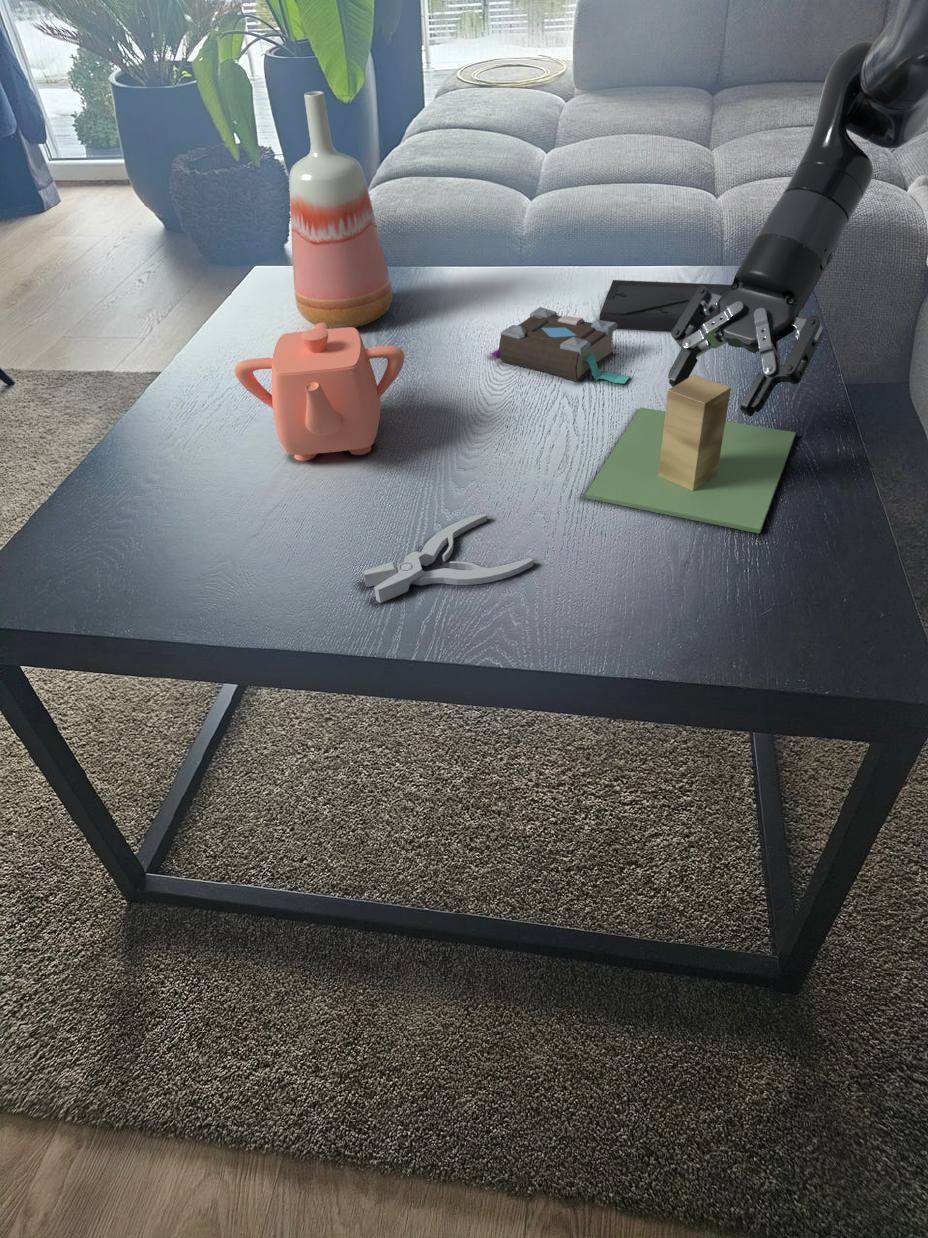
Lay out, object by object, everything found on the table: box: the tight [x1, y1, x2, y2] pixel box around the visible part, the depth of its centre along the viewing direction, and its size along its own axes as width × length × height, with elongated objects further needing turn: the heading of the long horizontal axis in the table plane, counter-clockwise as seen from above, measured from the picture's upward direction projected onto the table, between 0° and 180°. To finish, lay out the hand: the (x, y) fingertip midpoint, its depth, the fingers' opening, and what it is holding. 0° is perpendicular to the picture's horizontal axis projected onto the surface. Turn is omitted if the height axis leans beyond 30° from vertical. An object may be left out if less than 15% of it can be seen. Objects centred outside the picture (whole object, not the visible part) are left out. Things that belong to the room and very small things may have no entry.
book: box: [490, 306, 630, 384], centre depth 114 cm, size 20×12×5 cm, turn 54°
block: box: [659, 374, 732, 491], centre depth 88 cm, size 4×4×10 cm
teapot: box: [234, 323, 405, 462], centre depth 98 cm, size 17×16×13 cm
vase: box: [288, 90, 393, 329], centre depth 121 cm, size 14×14×30 cm
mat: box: [584, 407, 797, 535], centre depth 93 cm, size 18×20×1 cm
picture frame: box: [598, 279, 732, 333], centre depth 124 cm, size 13×2×18 cm
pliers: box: [363, 512, 534, 604], centre depth 82 cm, size 10×2×15 cm
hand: (709, 399), depth 87 cm, fingers open, 8 cm apart
